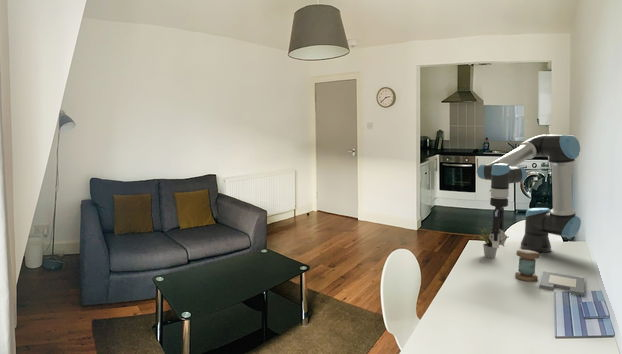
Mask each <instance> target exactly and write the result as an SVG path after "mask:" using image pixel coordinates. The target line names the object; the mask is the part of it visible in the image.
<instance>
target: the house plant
mask: <svg viewBox="0 0 622 354" xmlns="http://www.w3.org/2000/svg"><path fill="white" fill-rule="evenodd" d="M477 229H478V230H480V231H481V234H482V235H483V236H479V237H478V238H479V239H481V240H483V241H484V243H483V253H484V254H483V255H484V257H485V258H489V259H495V258H496V255H497V250H498V248H494V247H492V242H491V241H490V239H489V238H487V237H489V234H490V233H491V231H492V230H491V229H490V233H488V230H487V228H485V227H484V228H482V229H480V228H478V227H477Z"/></svg>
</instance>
